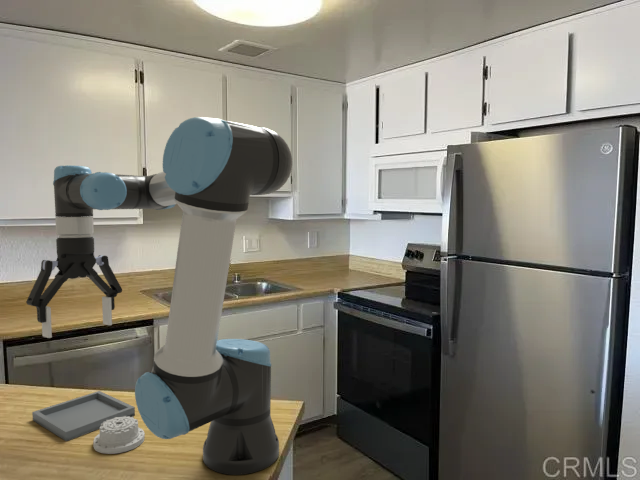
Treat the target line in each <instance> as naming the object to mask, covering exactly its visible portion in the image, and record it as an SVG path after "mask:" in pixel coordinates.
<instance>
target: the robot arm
mask: <svg viewBox="0 0 640 480" xmlns="http://www.w3.org/2000/svg"><path fill="white" fill-rule="evenodd" d="M292 168H293V156H292V152H291V149H290V147H289V144H288V143H287V142H286V141H285V139H284V138H283V137H282V136H281V135H280V134H278V133H277V132H275V131H274V130H271V129H270V128H268V127H262V126H254V125H251V124H244V123H240V122H234V121H229V120H224V119H221V118H218V117H217V118H215V117H214V118H213V117H203V116H201V117H200V116H196V117H191V118H188V119H186V120H184V121H182V122H181V123H179V125H178V126H177V127H176V128H174V130H173V131H172V132H171V134H170V135H169V138H168V139H167V141H166V144H165V147H164V149H163V155H162V171H161V172H158V173H155V174H151V175H134V174H133V175H132V174H131V175H130V174H118V173H117V174H115V173H112V172H106V171H105V172H101V171H97V172H95V173H92V169H90V167H88V166H85V165H84V166H83V165H58V166H56V167H55V168H54V171H53V182H52V185H53V194H54V195H53V196H54V210H55V211H54V214H55V215H54V216H55V219H54V220H55V234H56V235H57V236H59V237H56V239H55V242H56V245H55V247H56V254H57V255H56V256H57V258H56V259H55V260H49V259H42V260H41V261H40V262H41V265H40V271H39V273H38V276H37V278H36V280H35V283H34V285H33V286H32V288H31V290H30V293H29V295H28V297H27V299H26V302H25V303H26V304H27V305H28V306H31V307H36V316H37V317H36V319H37V322H38V323H41V331H42V332H41V334H42V336H41V337H43V338H47V339H51V338H53V334H52V331H53V330H52V329H53V328H52V309H51V308H52V307H51V306H48V304H49V303H50V302H51V300H52V299H53V298H54V296H55V295H56V294H57V293H58V291H59V290H60V289H61V287H62V286H63V285H64V283H65V282H67V281H68V279H69V280H73V279H77V278H82V279H83V278H89V279H90V281H91V282H92V283H93V284H95V286H96V287H97V288H98V290H100V291H101V292H102V293H103V294H104V295H105V296H101V303H102V304H101V305H102V307H101V308H102V309H101V310H102V324H103V325H106V326H112V325H113V312H112V311H113V310H115V308H116V306H115V298H116V297H117V295H118V294H120V293H122V292H123V288H122V287H121V285H120V283H119V281H118V279H117V277H116V275H115V272H113V270H112V268H111V266H110V263H109V257H108V255H103V254H100V255H98V256H95V238H94V237H93V236H92V235H94V234H95V233H94V232H95V229H94V210H98V211H109V210H167V209H172V208H175V206H176V205H177V206H178V207H179V208H180V209H181V211H182V216H181V224H180V228H179V229H180V231H179V239H178V243H177V244H178V245H177V252H176V260H175V268H174V277H173V282H172V284H173V285H172V291H171V297H170V306H169V312H168V320H167V328H166V335H165V342H164V345H163V346H161V347H160V348H158V349H157V350H156V351H155V353H154V355H153V364H152V368H151V371H147V372H144V373H143V374H141V376H139V377H138V378H137V380H136V383H135V385H134V386H135V387H134V397H135V403H136V407H137V410H138V411H137V412H138V413H139V415H140V418H141V420H142V421H143V423H144V425H145V426H146V427H147V429H148V430H149V431H150V432H151V433H152V435H153V434H154V436H156V438H159V439H163V440H171V439H174V438H177V437H180V436H183V435H186V434H188V433H189V432H191V431H194V430H196V429H198V428H201V427H203V426H204V425H208V424H209V423H210V425H209V427H208V431H207V434H206V435H207V436H206V438H205V441H204V443H203V446H202V460H203V463H204V465H205V466H206V467H207V468H208V469H210V470H212V471H214V472H216V473H220V474H225V475H231V476H233V475H234V476H235V475H237V476H241V475H247V474H248V475H249V474H252V473H253V474H254V473H256V472H260V471H262V470H265V469H266V468H268V467H270V466H271V465H273V464H275V462H276V461H277V460H278V458H279V455H280V442H279V441H280V440H279V437H278V435H277V433H276V429H275V425H274V423H273V420H272V416H271V402H272V401H271V397H272V394H271V393H272V392H271V389H272V382H271V381H272V380H271V379H272V367H273V366H272V362H271V351H270V348H269V347H268V346H267V344H265V343H264V342H259V341H257V340H251V339H243V338H225V339H224V338H223V339H219V332H220V327H221V321H222V320H221V319H222V313H223V307H224V301H225V293H226V288H227V284H228V283H227V281H228V275H229V270H230V262H231V257H232V250H233V244H234V238H235V233H236V232H235V231H236V225H237V220H238V219H239V218H240V217H242V216H243V215H245V214H246V213H247V212H248V209H249V203H250V197H251V196H264V195H269V194H273V193H275V192H277V191H278V190H280V189H281V188H282V187H284V185H285V184H286V183H287V181H288V180H289V178H290V177H291V176H290V175H291V172H292V170H293V169H292ZM95 265H97V266H98V267H99V269H100V271H101V273H102V274H103V276H104V278H105V280H106V281H104V279H103V278H102V277H101V276H100V275H99V273H98V272H97V271H96V270H95V269H94V266H95ZM56 268H57V269H58V272H56V274H55V275H54V278H53V280H52V281H51V282H50V283H49V285H48V286H47V284H48V281H50V278H51V276H52V272H53V271H54V270H55V269H56ZM46 286H47V287H46Z"/></svg>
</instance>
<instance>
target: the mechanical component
mask: <svg viewBox="0 0 640 480" xmlns="http://www.w3.org/2000/svg"><path fill="white" fill-rule="evenodd" d="M144 441H145V431H144V429H143V428H141V427H139V421H138V419H136V418H134V416H132V417H130V416H128V417H126V416H124V417H115V418H114V419H110V420H106V422H103V423H102V424H101V426H100V429H99V433H98V434H97V435H96V436H94V438H93V445H92V446H93V449H94V450H95V452H98V453H101V454H107V455H108V454H109V455H112V454H113V455H114V454H115V455H116V454H122V453H125V452H129V451H132V450H134V449H136V448H137V447H139V446H140V445H142V444H143V443H144Z"/></svg>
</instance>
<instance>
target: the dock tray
mask: <svg viewBox="0 0 640 480" xmlns="http://www.w3.org/2000/svg"><path fill="white" fill-rule="evenodd" d="M135 408H136V407H135V406H133V405H131V404H129V403H126V402H124V401H123V400H120V399H118V398H116V397H114V396H112V395H109V394H107V393H105V392H102V391H101V390H98V391H94V392H92V393H88V394H85V395H82V396H79V397H76V398H72V399H70V400H66V401H62V402H59V403H56V404H54V405H50V406H47V407H44V408H40V409H38V410H35V411H32V421H33V422H35V423H36V424H38V425H40V426H41V427H43V428H44V429H46V430H48V431H49V432H51V434H54V435H55V436H57V437H58V438H60V439H62V440H63V441H65V442H68V441H71V440H73V439H77V438H79V437H81V436H84V435H87V434H90V433H92V432H95V431H98V430H100V426H101V424H102V423H103V422H106V420H110V419H114V418H115V417H124V416H126V417H128V416H130V418H131V417H134V416H136V412H135V411H136V409H135Z"/></svg>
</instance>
